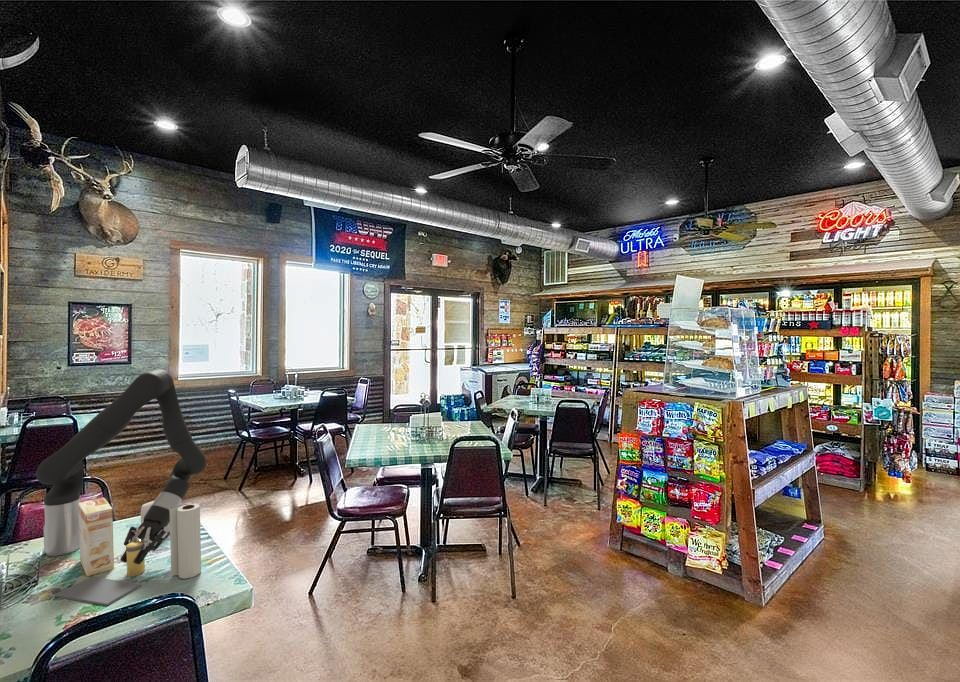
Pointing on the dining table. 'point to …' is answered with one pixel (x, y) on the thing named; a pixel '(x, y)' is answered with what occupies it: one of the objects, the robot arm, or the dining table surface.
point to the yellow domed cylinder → (131, 553)
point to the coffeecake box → (96, 536)
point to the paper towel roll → (185, 540)
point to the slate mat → (98, 590)
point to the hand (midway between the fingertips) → (129, 562)
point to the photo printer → (145, 510)
